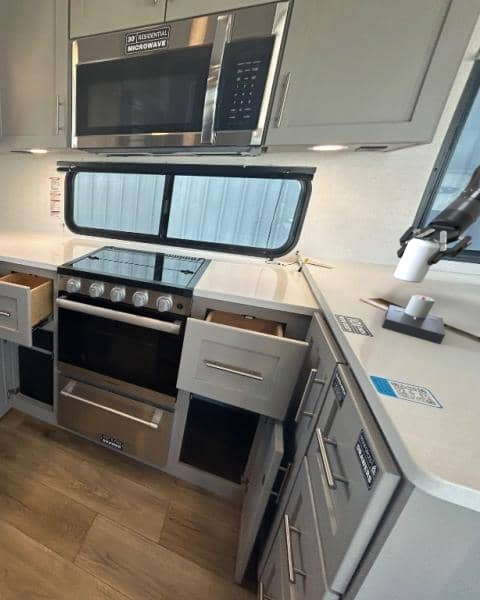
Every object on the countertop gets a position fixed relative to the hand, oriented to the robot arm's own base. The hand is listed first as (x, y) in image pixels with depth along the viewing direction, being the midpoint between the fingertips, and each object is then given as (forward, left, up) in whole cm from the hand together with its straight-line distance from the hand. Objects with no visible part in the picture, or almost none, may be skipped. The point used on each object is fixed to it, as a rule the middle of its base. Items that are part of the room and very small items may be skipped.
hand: (413, 259), depth 94 cm
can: (-2, 0, -6) cm, 7 cm away
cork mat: (-2, 0, -15) cm, 15 cm away
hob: (+8, +12, -15) cm, 21 cm away
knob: (+6, +10, -13) cm, 17 cm away
